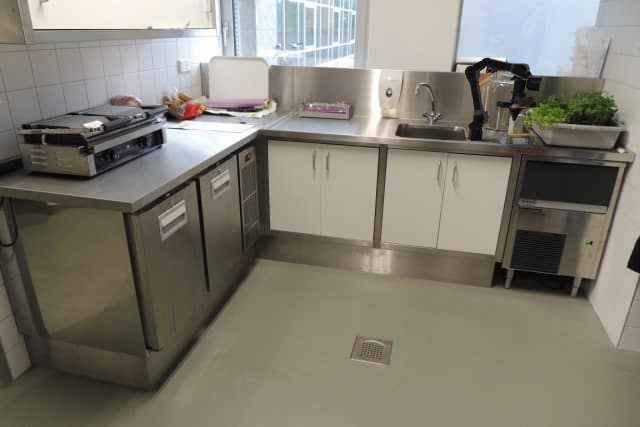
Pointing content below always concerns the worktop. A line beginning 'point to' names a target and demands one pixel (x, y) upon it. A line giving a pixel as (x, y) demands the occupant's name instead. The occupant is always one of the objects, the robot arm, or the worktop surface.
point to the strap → (517, 135)
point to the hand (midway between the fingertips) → (513, 121)
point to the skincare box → (516, 125)
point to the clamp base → (514, 141)
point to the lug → (530, 139)
